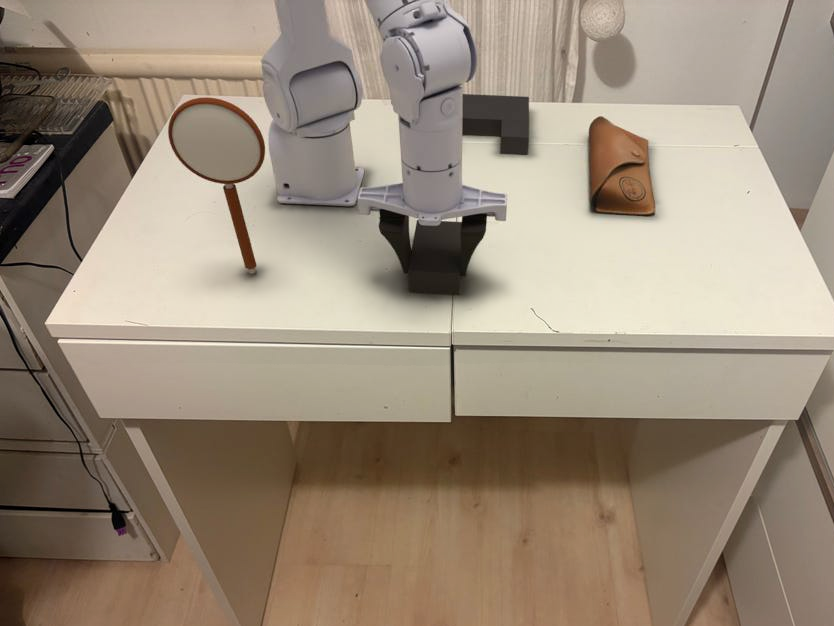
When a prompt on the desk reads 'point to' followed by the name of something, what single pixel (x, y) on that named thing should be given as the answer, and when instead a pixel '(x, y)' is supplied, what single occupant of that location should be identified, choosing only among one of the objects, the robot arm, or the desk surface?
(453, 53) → the robot arm
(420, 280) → the black rectangular block
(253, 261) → the magnifying glass
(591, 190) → the sunglasses case
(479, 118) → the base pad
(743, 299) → the desk surface
